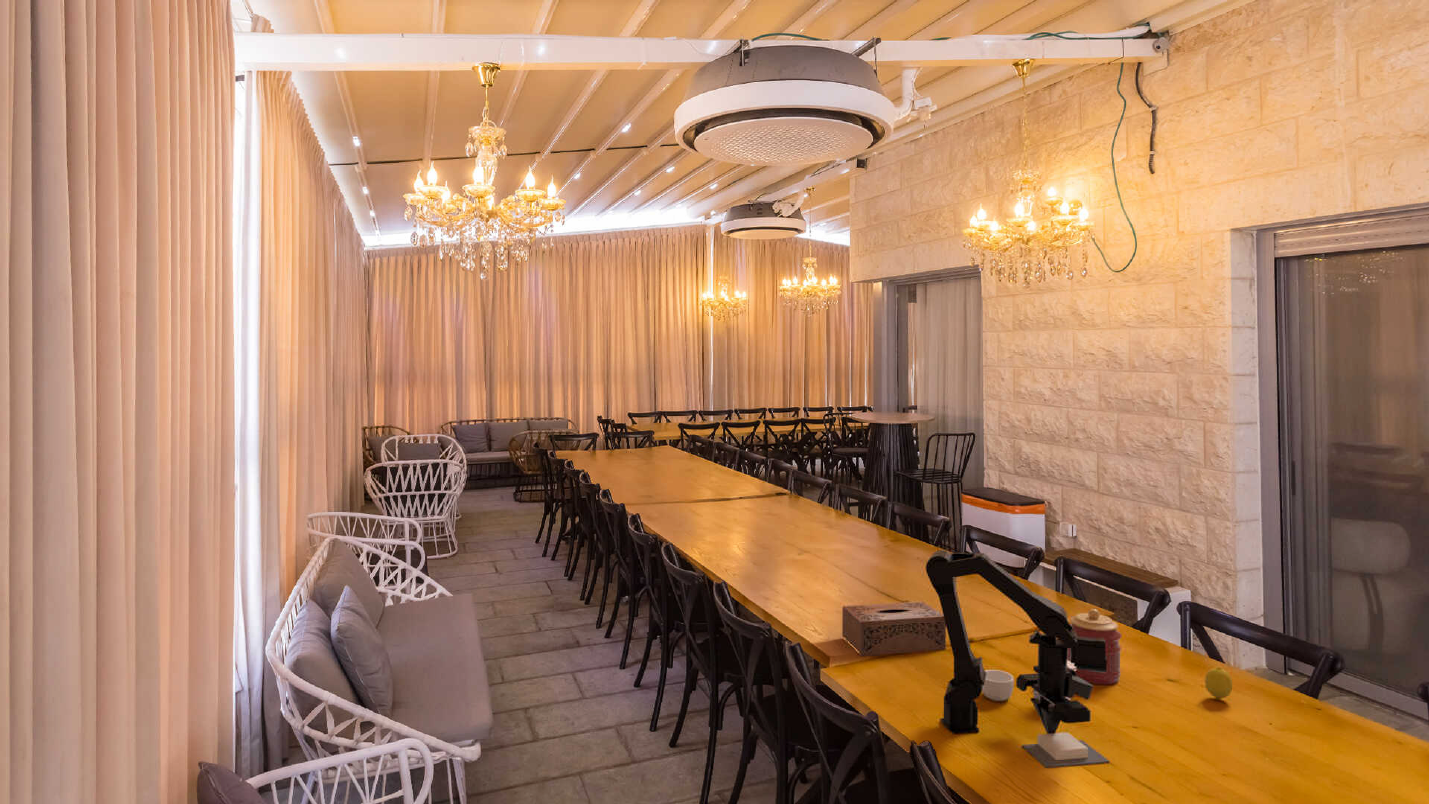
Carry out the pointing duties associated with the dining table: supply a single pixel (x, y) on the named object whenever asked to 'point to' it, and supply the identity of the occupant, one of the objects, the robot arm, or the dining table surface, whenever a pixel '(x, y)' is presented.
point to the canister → (1105, 629)
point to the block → (1062, 746)
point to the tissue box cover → (894, 628)
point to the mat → (1051, 762)
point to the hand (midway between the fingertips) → (1050, 735)
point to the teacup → (998, 685)
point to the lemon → (1218, 683)
